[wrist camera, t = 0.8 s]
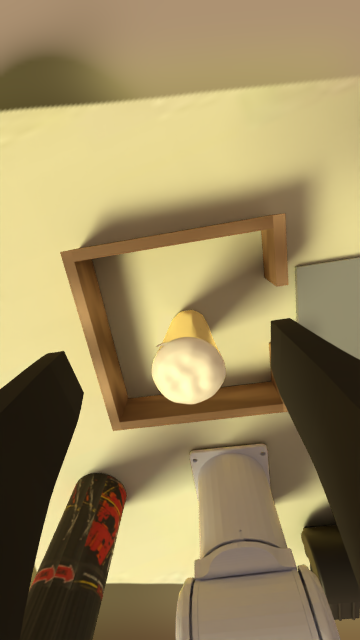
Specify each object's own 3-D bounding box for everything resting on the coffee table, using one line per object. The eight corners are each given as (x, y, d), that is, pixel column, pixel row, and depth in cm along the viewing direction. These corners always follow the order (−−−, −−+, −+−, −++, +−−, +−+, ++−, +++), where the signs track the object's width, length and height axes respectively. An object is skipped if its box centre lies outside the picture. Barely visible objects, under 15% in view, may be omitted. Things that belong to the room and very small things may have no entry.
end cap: (388, 502, 31) (440, 575, 24) (386, 545, 33) (433, 622, 27) (296, 511, 32) (323, 584, 25) (300, 552, 34) (325, 629, 28)
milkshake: (195, 284, 24) (197, 325, 14) (223, 336, 25) (243, 404, 15) (149, 309, 24) (123, 363, 15) (179, 357, 26) (172, 434, 16)
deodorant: (68, 475, 31) (-34, 685, 17) (120, 471, 31) (59, 683, 16) (82, 513, 33) (1, 730, 19) (131, 509, 32) (85, 730, 18)
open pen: (280, 387, 26) (293, 411, 23) (122, 406, 28) (113, 430, 24) (270, 215, 21) (285, 213, 18) (79, 248, 23) (60, 252, 20)
